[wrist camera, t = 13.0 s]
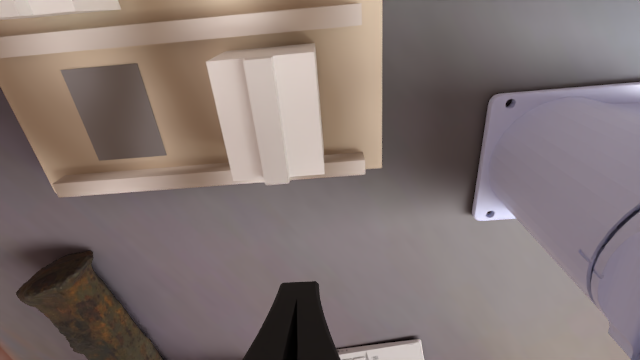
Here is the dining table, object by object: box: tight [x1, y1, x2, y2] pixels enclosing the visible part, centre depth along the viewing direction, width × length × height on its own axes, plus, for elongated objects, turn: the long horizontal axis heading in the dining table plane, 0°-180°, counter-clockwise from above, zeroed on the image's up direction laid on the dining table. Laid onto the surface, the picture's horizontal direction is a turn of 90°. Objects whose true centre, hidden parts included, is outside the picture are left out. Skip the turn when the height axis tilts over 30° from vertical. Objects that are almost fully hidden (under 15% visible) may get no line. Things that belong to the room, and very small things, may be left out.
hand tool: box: [16, 251, 163, 360], centre depth 26 cm, size 19×4×5 cm, turn 14°
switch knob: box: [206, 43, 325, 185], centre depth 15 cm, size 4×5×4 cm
